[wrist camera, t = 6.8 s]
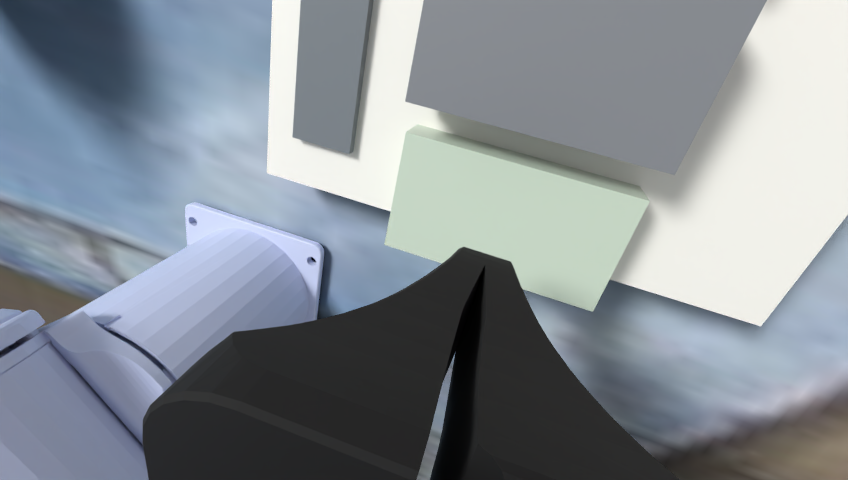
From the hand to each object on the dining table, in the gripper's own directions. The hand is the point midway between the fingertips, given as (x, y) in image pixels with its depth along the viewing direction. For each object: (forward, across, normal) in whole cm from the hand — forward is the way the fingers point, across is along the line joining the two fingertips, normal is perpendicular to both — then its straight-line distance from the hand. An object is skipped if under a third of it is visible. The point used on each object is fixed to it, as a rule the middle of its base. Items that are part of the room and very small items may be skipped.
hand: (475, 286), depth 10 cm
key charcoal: (+5, 0, -5) cm, 7 cm away
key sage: (+6, 0, 0) cm, 6 cm away
